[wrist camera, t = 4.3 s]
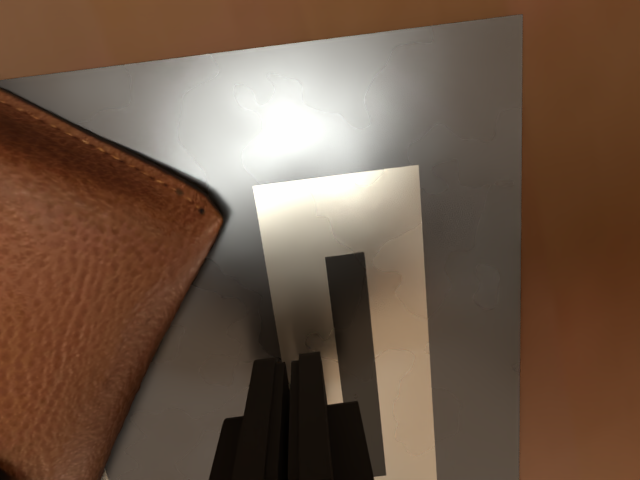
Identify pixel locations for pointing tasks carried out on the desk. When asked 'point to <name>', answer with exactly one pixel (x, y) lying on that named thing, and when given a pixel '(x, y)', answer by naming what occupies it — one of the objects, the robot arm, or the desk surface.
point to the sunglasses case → (83, 286)
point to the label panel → (335, 238)
